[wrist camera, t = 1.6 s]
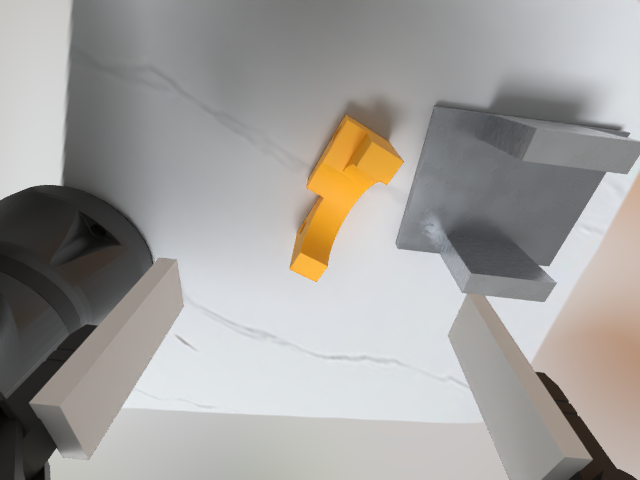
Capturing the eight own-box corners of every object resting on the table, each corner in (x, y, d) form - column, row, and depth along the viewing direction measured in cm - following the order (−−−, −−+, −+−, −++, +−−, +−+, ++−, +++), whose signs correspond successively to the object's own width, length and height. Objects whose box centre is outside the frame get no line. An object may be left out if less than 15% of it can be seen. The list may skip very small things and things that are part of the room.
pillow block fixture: (395, 243, 31) (411, 286, 25) (434, 105, 24) (469, 119, 18) (543, 260, 31) (593, 307, 25) (619, 130, 25) (713, 151, 19)
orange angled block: (345, 113, 25) (349, 127, 19) (388, 140, 26) (403, 161, 20) (281, 224, 30) (270, 260, 25) (318, 243, 31) (316, 282, 26)
